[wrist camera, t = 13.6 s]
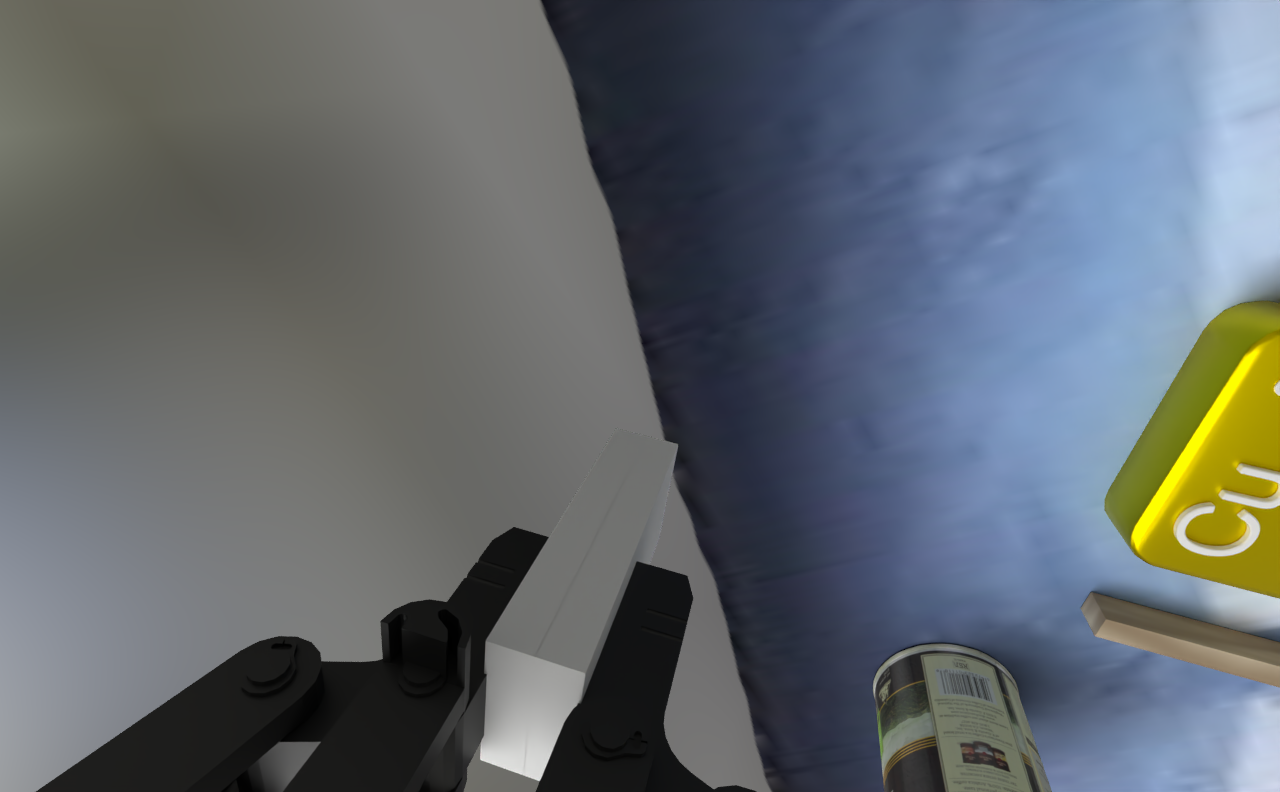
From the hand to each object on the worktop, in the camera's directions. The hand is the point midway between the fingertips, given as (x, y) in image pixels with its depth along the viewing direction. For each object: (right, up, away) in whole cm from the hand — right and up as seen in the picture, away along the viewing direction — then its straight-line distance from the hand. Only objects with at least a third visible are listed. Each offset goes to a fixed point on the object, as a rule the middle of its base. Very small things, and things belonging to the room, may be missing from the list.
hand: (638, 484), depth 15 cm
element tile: (+37, -1, +21) cm, 42 cm away
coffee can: (+23, -21, +33) cm, 46 cm away
